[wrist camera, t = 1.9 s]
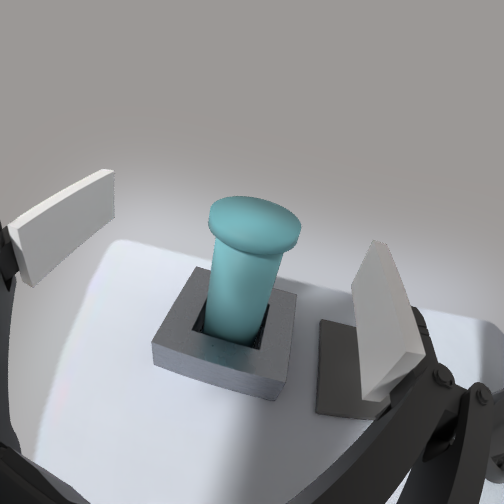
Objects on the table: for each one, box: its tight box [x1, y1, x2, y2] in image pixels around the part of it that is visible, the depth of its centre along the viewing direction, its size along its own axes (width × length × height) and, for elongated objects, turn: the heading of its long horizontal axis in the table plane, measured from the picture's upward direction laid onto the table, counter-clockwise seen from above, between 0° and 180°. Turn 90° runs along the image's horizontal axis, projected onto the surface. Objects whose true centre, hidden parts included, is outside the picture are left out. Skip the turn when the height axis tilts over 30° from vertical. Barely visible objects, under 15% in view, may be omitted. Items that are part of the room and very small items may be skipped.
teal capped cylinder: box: [203, 196, 301, 348], centre depth 28 cm, size 8×8×16 cm
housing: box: [151, 267, 297, 401], centre depth 31 cm, size 13×13×4 cm
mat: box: [316, 319, 391, 420], centre depth 31 cm, size 14×14×1 cm
